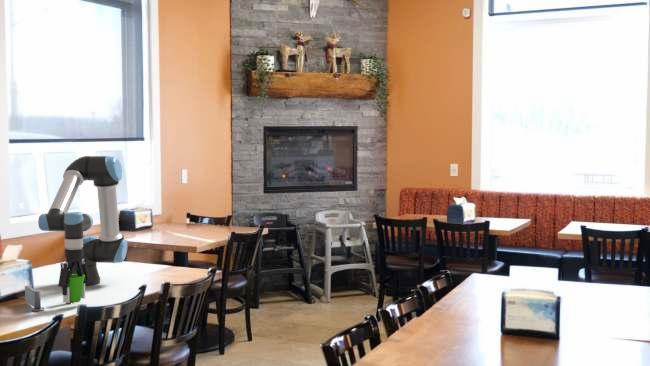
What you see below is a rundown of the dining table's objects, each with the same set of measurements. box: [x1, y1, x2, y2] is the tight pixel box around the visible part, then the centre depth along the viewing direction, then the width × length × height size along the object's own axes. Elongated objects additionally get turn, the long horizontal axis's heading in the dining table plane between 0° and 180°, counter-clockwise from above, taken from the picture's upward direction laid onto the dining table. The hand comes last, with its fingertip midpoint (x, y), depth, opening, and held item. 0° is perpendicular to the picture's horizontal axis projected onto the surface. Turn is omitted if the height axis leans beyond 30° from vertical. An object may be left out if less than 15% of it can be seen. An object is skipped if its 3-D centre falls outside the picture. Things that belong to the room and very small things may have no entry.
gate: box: [24, 285, 42, 309], centre depth 331 cm, size 17×2×7 cm, turn 36°
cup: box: [65, 274, 85, 304], centre depth 331 cm, size 9×9×11 cm
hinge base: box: [30, 307, 45, 313], centre depth 326 cm, size 5×5×1 cm
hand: (74, 300), depth 332 cm, fingers closed on cup, 9 cm apart
